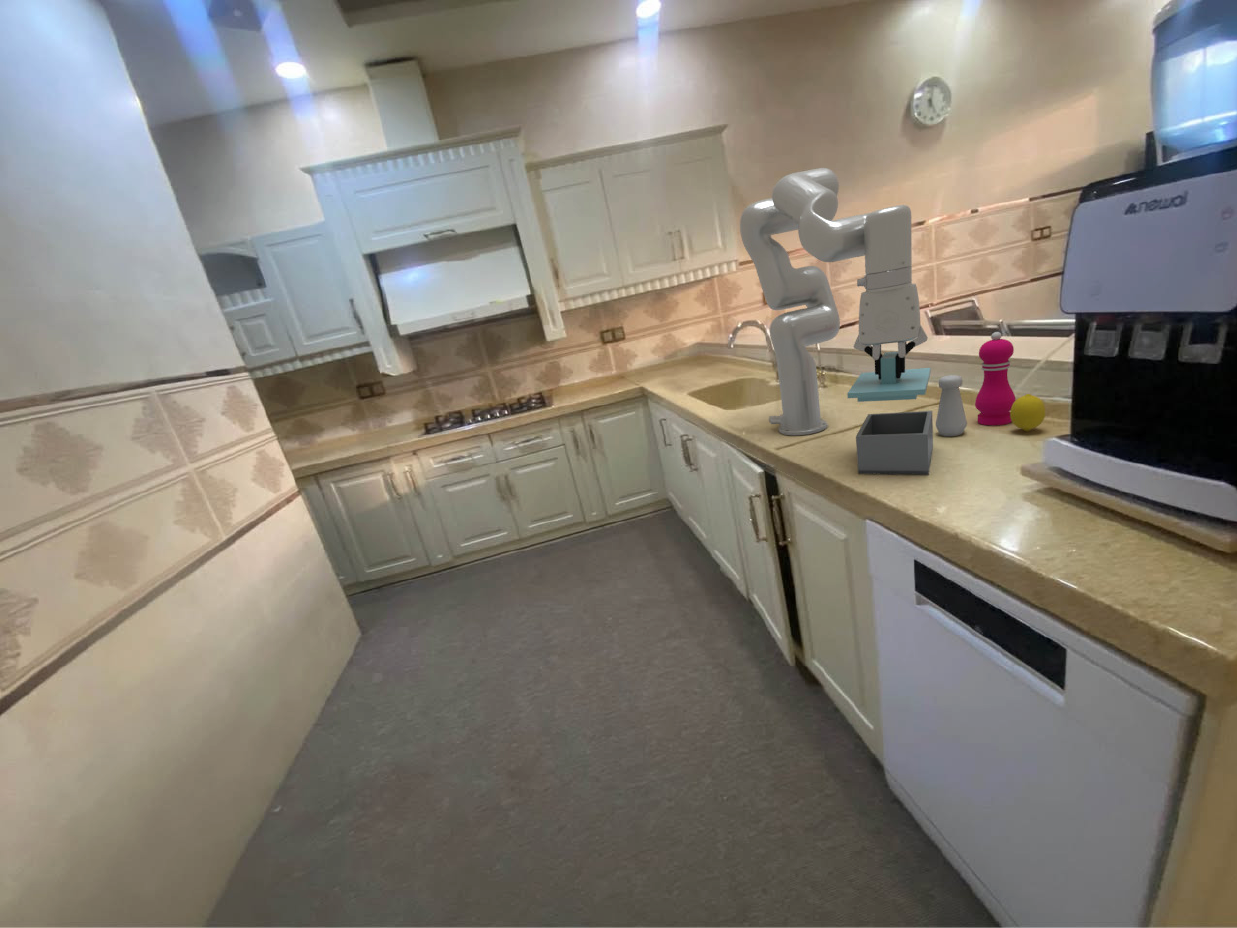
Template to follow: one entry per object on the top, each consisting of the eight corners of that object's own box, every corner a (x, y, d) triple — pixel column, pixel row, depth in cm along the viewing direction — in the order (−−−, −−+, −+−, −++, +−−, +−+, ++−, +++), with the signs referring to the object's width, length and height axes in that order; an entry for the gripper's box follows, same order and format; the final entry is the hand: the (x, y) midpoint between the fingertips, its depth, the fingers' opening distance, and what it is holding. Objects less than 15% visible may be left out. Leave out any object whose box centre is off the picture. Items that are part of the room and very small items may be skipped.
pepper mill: (1001, 415, 113) (1003, 327, 108) (1023, 422, 107) (1026, 329, 101) (968, 420, 115) (968, 334, 109) (987, 428, 108) (988, 336, 102)
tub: (858, 474, 99) (855, 436, 96) (870, 448, 111) (868, 414, 109) (928, 474, 92) (927, 434, 90) (933, 447, 104) (932, 410, 102)
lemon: (1039, 426, 103) (1041, 389, 100) (1048, 434, 98) (1050, 395, 96) (1006, 428, 105) (1007, 392, 103) (1013, 436, 100) (1014, 398, 98)
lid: (847, 404, 95) (846, 367, 93) (861, 382, 108) (860, 350, 106) (925, 401, 88) (925, 361, 86) (930, 378, 101) (930, 343, 98)
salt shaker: (962, 428, 111) (962, 371, 107) (970, 435, 106) (970, 376, 102) (932, 431, 113) (931, 375, 109) (939, 438, 108) (938, 380, 104)
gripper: (837, 290, 93) (842, 385, 99) (938, 273, 84) (937, 379, 90) (845, 286, 99) (849, 376, 105) (940, 270, 89) (939, 369, 95)
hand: (890, 376), depth 97 cm, fingers closed on lid, 2 cm apart
